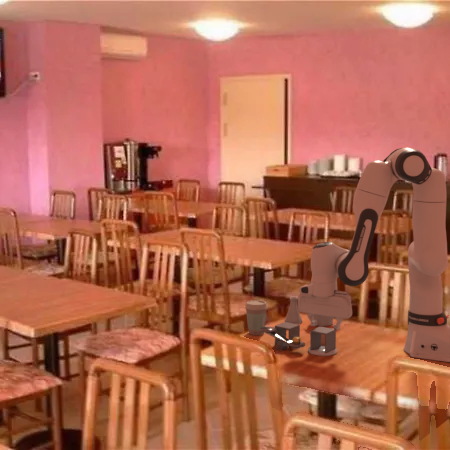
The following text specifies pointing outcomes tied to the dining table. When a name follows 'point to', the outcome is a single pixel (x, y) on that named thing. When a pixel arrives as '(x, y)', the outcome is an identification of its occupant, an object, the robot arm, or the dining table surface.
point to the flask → (293, 312)
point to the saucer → (321, 351)
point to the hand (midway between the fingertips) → (325, 327)
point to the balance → (283, 339)
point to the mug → (323, 320)
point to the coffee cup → (256, 316)
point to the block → (322, 339)
